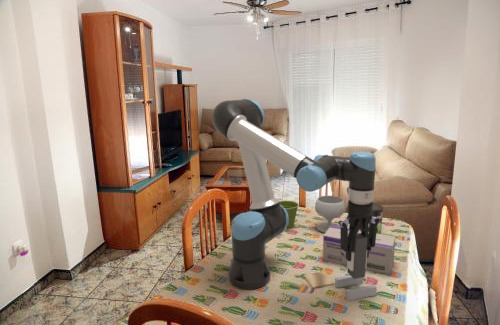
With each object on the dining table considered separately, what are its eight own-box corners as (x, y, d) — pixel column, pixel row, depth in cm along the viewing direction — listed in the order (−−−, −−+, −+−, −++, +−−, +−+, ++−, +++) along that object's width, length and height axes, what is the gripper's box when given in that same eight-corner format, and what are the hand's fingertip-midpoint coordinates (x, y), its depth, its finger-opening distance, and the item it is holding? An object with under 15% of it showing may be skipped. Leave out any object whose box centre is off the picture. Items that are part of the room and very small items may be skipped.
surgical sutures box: (393, 262, 130) (395, 236, 128) (390, 275, 121) (392, 248, 119) (330, 249, 142) (330, 225, 140) (322, 260, 133) (323, 235, 130)
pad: (312, 288, 114) (312, 287, 114) (303, 276, 121) (303, 274, 121) (334, 284, 116) (334, 283, 116) (323, 272, 123) (323, 271, 123)
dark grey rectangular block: (354, 278, 109) (356, 239, 106) (347, 272, 113) (349, 234, 110) (364, 277, 110) (367, 237, 107) (358, 270, 114) (360, 232, 111)
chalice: (332, 221, 170) (333, 193, 167) (350, 231, 158) (351, 201, 155) (309, 225, 166) (309, 197, 162) (325, 237, 153) (325, 206, 150)
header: (348, 300, 107) (349, 292, 106) (334, 285, 115) (335, 277, 115) (376, 295, 109) (376, 287, 109) (360, 280, 118) (360, 272, 117)
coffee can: (384, 233, 155) (386, 205, 152) (377, 242, 147) (379, 211, 144) (362, 228, 161) (363, 200, 158) (354, 236, 153) (355, 207, 150)
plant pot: (300, 230, 161) (300, 208, 158) (275, 230, 161) (275, 208, 159) (297, 220, 172) (297, 200, 170) (274, 221, 173) (274, 200, 170)
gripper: (342, 207, 100) (339, 277, 105) (391, 201, 104) (385, 269, 109) (330, 199, 107) (327, 265, 112) (376, 194, 111) (372, 258, 117)
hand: (356, 267), depth 111 cm, fingers closed on dark grey rectangular block, 4 cm apart
